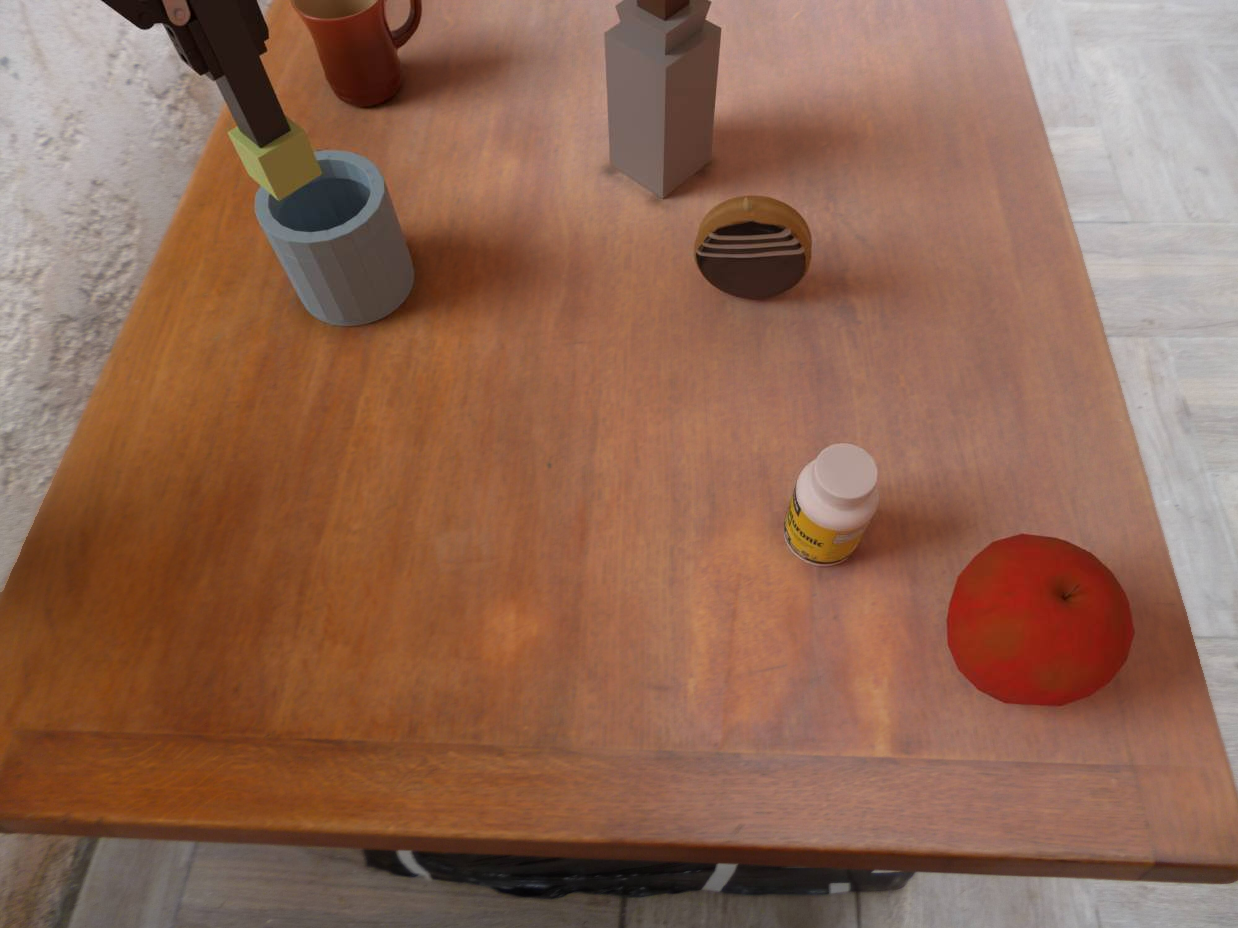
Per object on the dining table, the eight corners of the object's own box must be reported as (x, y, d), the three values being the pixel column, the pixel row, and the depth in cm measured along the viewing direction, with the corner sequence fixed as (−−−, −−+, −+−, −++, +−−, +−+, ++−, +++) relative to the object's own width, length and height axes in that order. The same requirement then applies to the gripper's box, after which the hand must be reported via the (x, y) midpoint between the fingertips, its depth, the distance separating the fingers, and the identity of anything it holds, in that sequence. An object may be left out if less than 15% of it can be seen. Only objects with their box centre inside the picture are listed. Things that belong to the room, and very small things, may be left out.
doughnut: (689, 296, 73) (695, 209, 64) (695, 264, 75) (702, 174, 66) (799, 311, 72) (821, 224, 63) (803, 278, 74) (825, 189, 65)
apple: (921, 571, 60) (976, 496, 50) (1068, 583, 59) (1154, 510, 49) (932, 716, 55) (996, 665, 45) (1092, 731, 54) (1194, 683, 44)
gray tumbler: (344, 346, 71) (303, 263, 62) (277, 283, 75) (229, 196, 66) (437, 280, 74) (410, 192, 66) (369, 222, 78) (334, 132, 69)
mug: (347, 128, 84) (312, 32, 76) (312, 82, 88) (275, -16, 79) (454, 83, 88) (432, -15, 79) (416, 40, 91) (391, -59, 82)
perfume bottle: (710, 161, 81) (726, -27, 65) (662, 199, 79) (667, 14, 63) (657, 129, 83) (660, -60, 68) (610, 165, 81) (601, -22, 65)
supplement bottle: (768, 516, 62) (788, 448, 54) (834, 490, 63) (863, 420, 55) (803, 580, 60) (830, 520, 51) (871, 552, 61) (908, 489, 52)
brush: (278, 201, 57) (183, 6, 45) (248, 175, 58) (148, -21, 46) (323, 174, 58) (241, -23, 46) (292, 149, 59) (206, -49, 48)
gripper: (161, -383, 39) (294, -15, 54) (-142, -283, 35) (95, 89, 50) (251, -340, 37) (364, 35, 52) (-64, -226, 32) (162, 150, 47)
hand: (232, 60), depth 51 cm, fingers closed on brush, 2 cm apart
